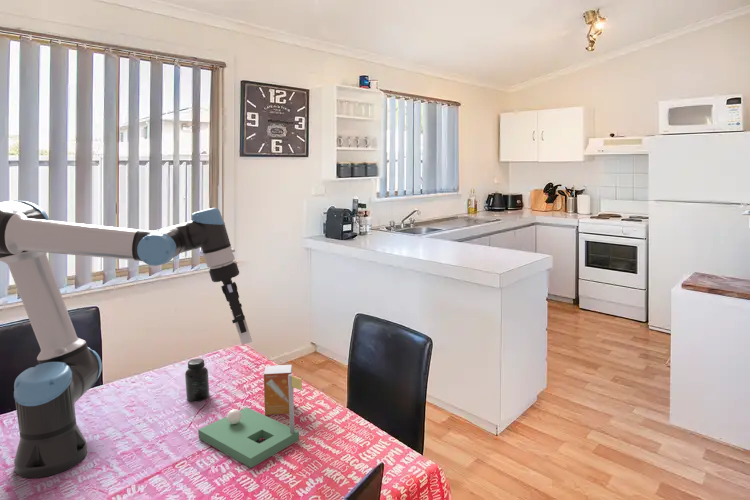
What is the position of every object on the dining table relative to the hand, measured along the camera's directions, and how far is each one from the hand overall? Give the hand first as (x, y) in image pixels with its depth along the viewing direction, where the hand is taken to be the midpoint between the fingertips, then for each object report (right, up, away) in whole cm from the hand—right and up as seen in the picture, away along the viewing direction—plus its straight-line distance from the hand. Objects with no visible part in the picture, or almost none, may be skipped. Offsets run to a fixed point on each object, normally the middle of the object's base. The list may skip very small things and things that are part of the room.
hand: (244, 336), depth 138 cm
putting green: (+4, -27, -7) cm, 28 cm away
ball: (-2, -21, -3) cm, 22 cm away
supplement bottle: (-20, -23, +19) cm, 36 cm away
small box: (+8, -24, +10) cm, 27 cm away
